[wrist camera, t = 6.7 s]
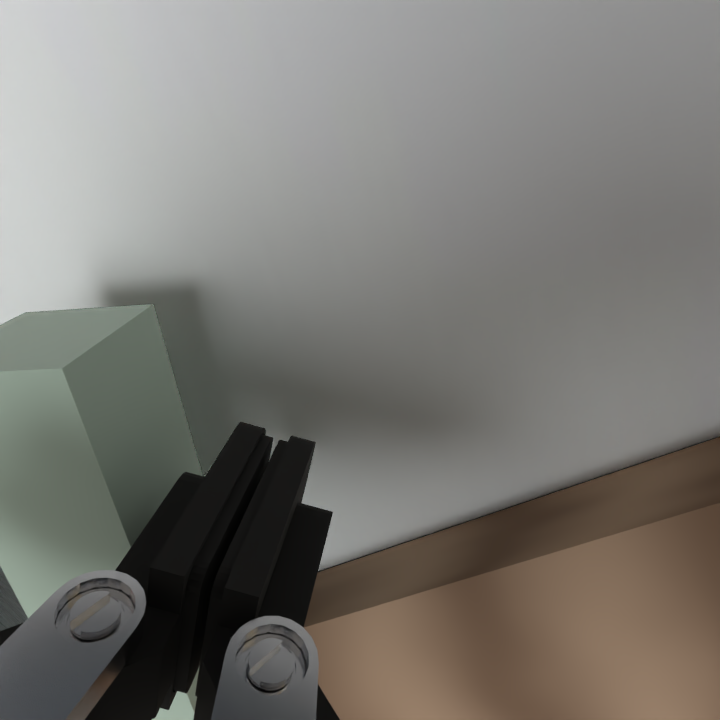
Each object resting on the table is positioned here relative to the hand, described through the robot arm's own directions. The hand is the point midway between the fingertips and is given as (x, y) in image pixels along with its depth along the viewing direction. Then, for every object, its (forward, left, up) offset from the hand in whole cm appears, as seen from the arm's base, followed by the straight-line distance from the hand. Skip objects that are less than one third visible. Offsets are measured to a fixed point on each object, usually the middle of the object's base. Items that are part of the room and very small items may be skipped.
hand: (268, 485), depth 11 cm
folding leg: (+5, +2, -1) cm, 5 cm away
